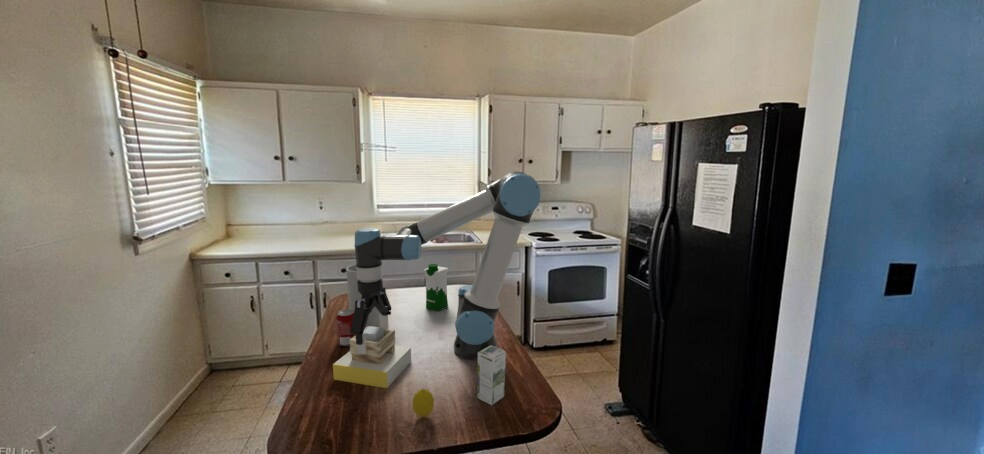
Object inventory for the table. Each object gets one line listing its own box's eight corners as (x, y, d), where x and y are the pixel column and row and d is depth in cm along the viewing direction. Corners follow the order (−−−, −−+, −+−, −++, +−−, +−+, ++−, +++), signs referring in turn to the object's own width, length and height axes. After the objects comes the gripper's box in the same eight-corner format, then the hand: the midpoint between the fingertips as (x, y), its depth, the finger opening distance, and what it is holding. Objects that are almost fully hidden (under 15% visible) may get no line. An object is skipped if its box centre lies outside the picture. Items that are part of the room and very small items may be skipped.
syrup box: (489, 389, 123) (489, 343, 120) (505, 397, 119) (506, 350, 117) (476, 398, 119) (476, 351, 116) (492, 406, 115) (493, 357, 112)
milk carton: (422, 308, 185) (421, 265, 181) (436, 302, 193) (435, 260, 189) (438, 312, 180) (437, 268, 177) (451, 306, 188) (450, 263, 184)
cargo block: (384, 339, 134) (383, 327, 133) (376, 346, 129) (375, 334, 128) (370, 337, 135) (369, 326, 134) (361, 344, 130) (361, 332, 130)
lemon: (435, 410, 113) (434, 383, 112) (433, 423, 108) (432, 395, 106) (414, 410, 113) (413, 383, 112) (411, 424, 108) (410, 395, 106)
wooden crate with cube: (395, 350, 137) (394, 329, 135) (380, 365, 127) (378, 343, 126) (368, 346, 139) (367, 326, 138) (350, 360, 130) (349, 339, 128)
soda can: (351, 348, 148) (349, 316, 146) (334, 346, 149) (331, 314, 147) (361, 340, 155) (359, 309, 152) (344, 338, 156) (342, 307, 154)
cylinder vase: (346, 327, 166) (342, 266, 161) (376, 319, 173) (373, 261, 168) (356, 338, 156) (353, 274, 151) (388, 330, 163) (385, 268, 159)
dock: (411, 361, 139) (410, 347, 138) (386, 388, 124) (386, 372, 123) (363, 354, 144) (362, 340, 143) (333, 379, 128) (332, 364, 127)
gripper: (379, 266, 141) (382, 325, 145) (334, 290, 117) (339, 360, 121) (400, 268, 139) (402, 328, 143) (357, 293, 116) (362, 364, 119)
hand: (373, 343), depth 132 cm, fingers open, 13 cm apart
